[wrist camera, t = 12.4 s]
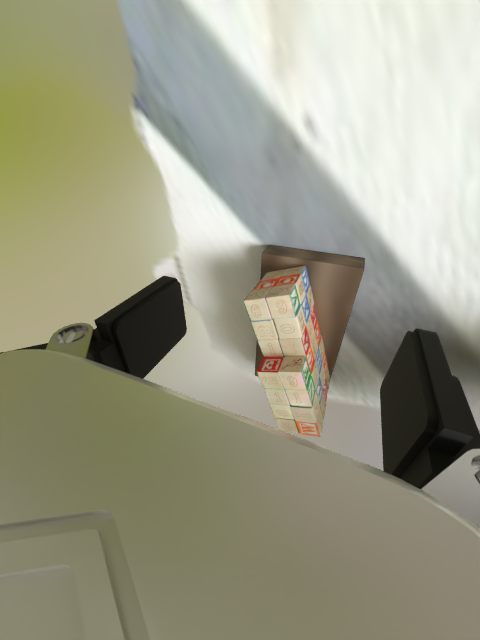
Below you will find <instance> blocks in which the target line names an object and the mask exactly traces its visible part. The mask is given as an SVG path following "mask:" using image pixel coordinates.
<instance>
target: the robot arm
mask: <svg viewBox="0 0 480 640" xmlns="http://www.w3.org/2000/svg"><path fill="white" fill-rule="evenodd" d="M95 323H96V326H97V328H96V329H93V327H92V326H91V325H89V324H86V323H76V324H71V325H68V326H65V327H63V328H61V329H59V330H58V331H57V332H55V333H54V334H53V335H52V337H51V338H50V341H49V343H46V344H42V345H36V346H32V347H27V348H22V349H17V350H13V351H8V352H1V353H0V640H480V434H479V431H478V428H477V426H476V423H475V420H474V418H473V415H472V413H471V410H470V407H469V405H468V402H467V399H466V397H465V394H464V391H463V389H462V386H461V384H460V381H459V380H458V378H457V377H455V376H452V375H451V372H450V369H449V366H448V363H447V360H446V358H445V355H444V352H443V349H442V346H441V344H440V341H439V338H438V335H437V333H435V332H431V331H426V330H421V329H415V330H414V331H413V332H411V331H408V332H407V333H406V335H405V337H404V339H403V341H402V343H401V345H400V347H399V349H398V351H397V353H396V355H395V358H394V360H393V362H392V364H391V366H390V368H389V370H388V372H387V374H386V376H385V378H384V380H383V382H382V385H381V389H380V400H381V422H382V445H383V467H384V471H381V470H379V469H377V468H374V467H372V466H370V465H368V464H365V463H363V462H360V461H358V460H355V459H352V458H350V457H348V456H345V455H342V454H340V453H337V452H335V451H332V450H330V449H327V448H325V447H322V446H320V445H317V444H315V443H312V442H310V441H307V440H304V439H301V438H299V437H296V436H294V435H291V434H288V433H286V432H283V431H281V430H278V429H275V428H272V427H270V426H267V425H265V424H262V423H259V422H257V421H254V420H252V419H249V418H246V417H244V416H241V415H238V414H236V413H233V412H230V411H228V410H225V409H222V408H220V407H217V406H214V405H211V404H209V403H206V402H204V401H201V400H198V399H196V398H193V397H190V396H187V395H185V394H182V393H179V392H177V391H174V390H171V389H169V388H166V387H163V386H160V385H157V384H155V383H152V382H149V381H147V380H144V379H143V378H144V377H145V376H146V375H147V374H148V373H149V372H150V371H151V370H152V369H153V368H154V367H155V366H156V365H157V364H158V363H159V362H160V360H161V359H163V357H164V356H165V355H166V354H167V353H168V352H169V351H170V350H171V349H172V348H173V347H174V346H175V345H176V344H177V343H178V342H179V341H180V340H181V339H182V337H184V335H185V334H186V329H187V328H186V320H185V313H184V306H183V299H182V292H181V285H180V283H179V282H178V281H177V279H176V278H172V277H168V276H162V277H161V278H159V279H158V280H156V281H155V282H153V283H152V284H150V285H148V286H147V287H145V288H144V289H142V290H141V291H139V292H138V293H136V294H135V295H133V296H131V297H130V298H128V299H127V300H125V301H124V302H122V303H121V304H119V305H118V306H116V307H115V308H113V309H111V310H110V311H108V312H107V313H105V314H104V315H102V316H101V317H99V318H97V319H96V320H95Z"/></svg>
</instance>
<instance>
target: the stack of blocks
mask: <svg viewBox="0 0 480 640" xmlns="http://www.w3.org/2000/svg"><path fill="white" fill-rule="evenodd" d="M244 304H245V306H246V309H247V312H248V315H249V317H250V319H251V324H252V326H253V329H254V332H255V334H256V337H257V339H258V343H259V346H260V348H261V351H262V353H263V355H264V356H265V357H264V358H263V360H262V362H261V364H260V366H259V369H258V371H257V373H258V376H259V378H260V381H261V383H262V386H263V388H264V389H265V392H266V395H267V397H268V400H269V402H270V406H271V409H272V411H273V413H274V416H275V420H276V422H277V425H278V427H279V430H281V431H283V432H290V433H296V434H299V433H300V434H303V435H311V436H318V437H321V435H322V427H323V419H324V414H325V407H326V398H327V391H328V388H329V380H330V375H329V370H328V363H327V358H326V354H325V349H324V344H323V339H322V336H321V334H320V329H319V324H318V321H317V317H316V312H315V308H314V300H313V295H312V290H311V286H310V282H309V278H308V273H307V269H306V266H301V267H295V268H290V269H283V270H277V271H272V272H268V273H266V274H265V276H264V277H263V278H262V280H261V281H260V282H259V283H258V284H257V286H256V287H255V288H254V290H253V291H251V292H250V294H249V295H248V296H247V298H246V299H245V300H244Z"/></svg>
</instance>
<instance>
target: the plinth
mask: <svg viewBox="0 0 480 640" xmlns="http://www.w3.org/2000/svg"><path fill="white" fill-rule="evenodd" d="M364 264H365V258H359V257H352V256H345V255H338V254H331V253H324V252H317V251H310V250H303V249H296V248H289V247H281V246H274V245H270V246H269V247H268V248H267V249H266V250H265V251H264V252H263V253H262V265H261V280H262V278H263V277H264V276H265V274H266V273H268V272H272V271H277V270H283V269H290V268H295V267H301V266H306V269H307V273H308V278H309V282H310V286H311V290H312V295H313V300H314V308H315V312H316V317H317V321H318V324H319V329H320V334H321V336H322V339H323V344H324V349H325V354H326V358H327V363H328V370H329V375H330V378H331V375H332V371H333V368H334V365H335V362H336V358H337V355H338V352H339V349H340V346H341V342H342V339H343V336H344V333H345V329H346V326H347V323H348V320H349V317H350V313H351V310H352V307H353V304H354V300H355V297H356V294H357V291H358V288H359V284H360V281H361V278H362V275H363V271H364ZM264 357H265V356H264V355H263V353H262V351H261V348H260V346H259V343H258V339H257V348H256V365H255V375H256V376H258V373H257V371H258V369H259V366H260V364H261V362H262V360H263V358H264ZM329 381H330V380H329Z"/></svg>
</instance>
